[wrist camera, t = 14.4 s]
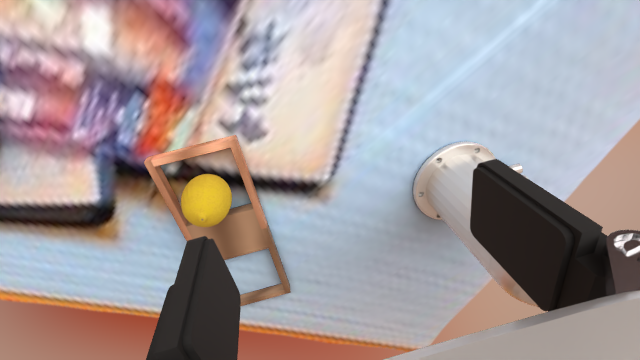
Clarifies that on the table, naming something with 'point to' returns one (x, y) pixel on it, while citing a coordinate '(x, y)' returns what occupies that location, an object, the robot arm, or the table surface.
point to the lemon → (206, 200)
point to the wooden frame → (239, 224)
